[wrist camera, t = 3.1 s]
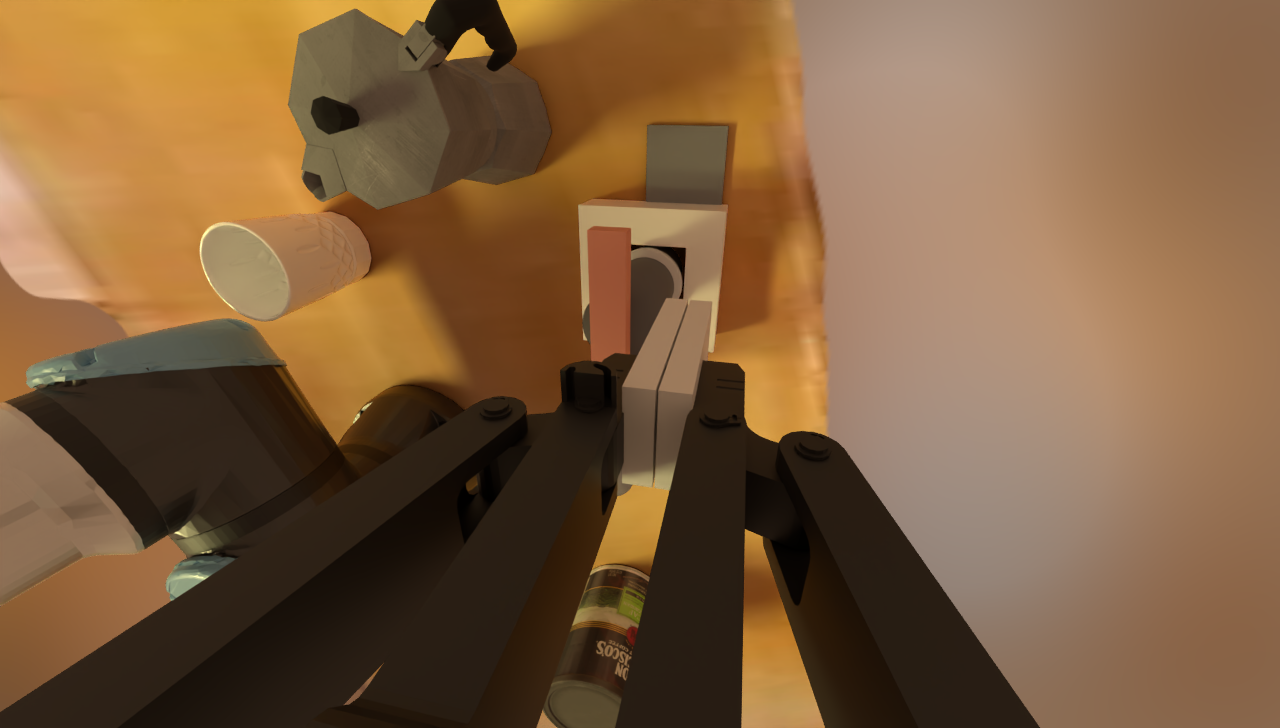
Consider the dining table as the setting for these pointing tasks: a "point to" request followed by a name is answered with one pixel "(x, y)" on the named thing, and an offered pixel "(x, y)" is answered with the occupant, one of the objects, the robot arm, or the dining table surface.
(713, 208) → the socket block
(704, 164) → the coaster
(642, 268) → the plug
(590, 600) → the coffee can
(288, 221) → the white cup
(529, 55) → the dining table surface
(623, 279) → the pink grey-tipped stick
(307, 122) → the coffeepot
